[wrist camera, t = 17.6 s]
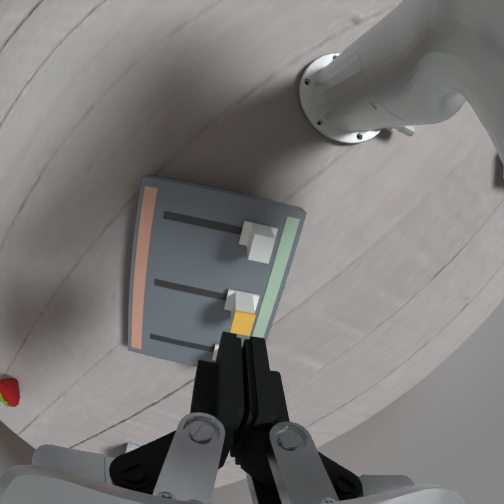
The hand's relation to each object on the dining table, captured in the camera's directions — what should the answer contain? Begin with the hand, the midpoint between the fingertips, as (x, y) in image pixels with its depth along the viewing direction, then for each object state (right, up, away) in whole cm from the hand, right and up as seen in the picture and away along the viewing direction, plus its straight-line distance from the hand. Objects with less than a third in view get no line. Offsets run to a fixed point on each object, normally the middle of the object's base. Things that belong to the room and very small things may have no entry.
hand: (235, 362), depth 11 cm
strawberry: (-58, -27, +35) cm, 73 cm away
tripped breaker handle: (-1, -2, +26) cm, 26 cm away
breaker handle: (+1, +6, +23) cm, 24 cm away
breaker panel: (-6, 0, +28) cm, 29 cm away
